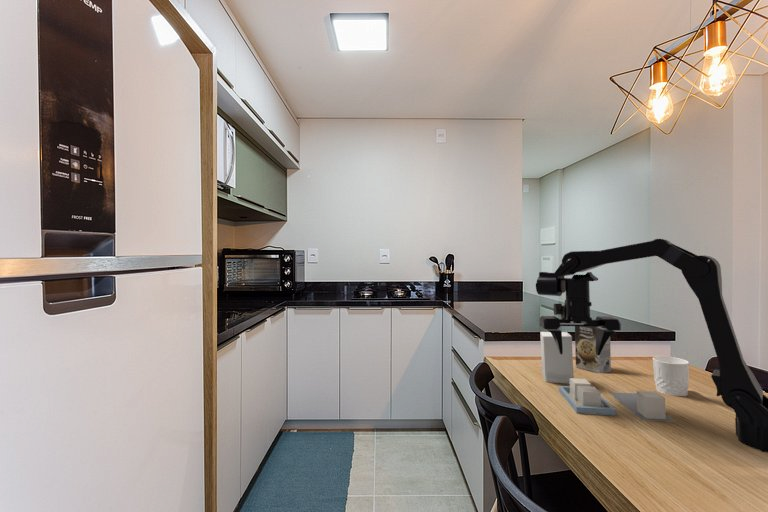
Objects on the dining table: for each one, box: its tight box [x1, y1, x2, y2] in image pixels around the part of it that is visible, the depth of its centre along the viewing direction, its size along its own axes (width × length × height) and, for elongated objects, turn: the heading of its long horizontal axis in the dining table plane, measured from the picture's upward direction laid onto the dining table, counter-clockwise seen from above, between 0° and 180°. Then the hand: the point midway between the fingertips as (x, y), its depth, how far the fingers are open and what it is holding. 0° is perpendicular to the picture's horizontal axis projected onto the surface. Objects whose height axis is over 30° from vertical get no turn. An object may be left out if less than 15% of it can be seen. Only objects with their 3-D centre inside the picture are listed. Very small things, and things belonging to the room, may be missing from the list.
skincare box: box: [539, 331, 575, 385], centre depth 108 cm, size 8×7×16 cm
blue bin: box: [558, 385, 616, 416], centre depth 91 cm, size 15×9×3 cm, turn 169°
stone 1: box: [569, 377, 592, 401], centre depth 94 cm, size 4×4×5 cm
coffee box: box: [574, 326, 612, 374], centre depth 121 cm, size 9×6×16 cm
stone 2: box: [577, 386, 602, 407], centre depth 88 cm, size 4×4×5 cm
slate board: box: [608, 391, 676, 423], centre depth 88 cm, size 17×7×1 cm, turn 169°
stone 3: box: [636, 390, 667, 419], centre depth 83 cm, size 4×4×5 cm
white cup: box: [652, 355, 690, 397], centre depth 97 cm, size 8×8×10 cm
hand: (579, 354), depth 94 cm, fingers open, 9 cm apart
